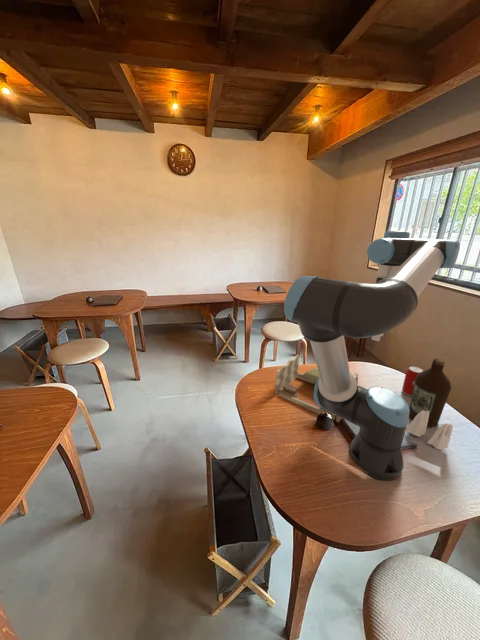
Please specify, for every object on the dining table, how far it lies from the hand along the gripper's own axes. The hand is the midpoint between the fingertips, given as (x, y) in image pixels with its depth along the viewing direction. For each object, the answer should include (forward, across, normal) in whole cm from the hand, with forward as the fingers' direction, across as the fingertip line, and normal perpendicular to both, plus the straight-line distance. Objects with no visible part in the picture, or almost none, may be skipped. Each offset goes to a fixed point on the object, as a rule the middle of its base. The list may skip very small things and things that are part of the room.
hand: (377, 337), depth 101 cm
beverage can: (+29, +18, -14) cm, 37 cm away
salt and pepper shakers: (+29, -10, -22) cm, 38 cm away
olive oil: (+29, +2, -20) cm, 35 cm away
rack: (+29, -9, +18) cm, 35 cm away
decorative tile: (+24, -8, +16) cm, 30 cm away
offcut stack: (+29, -16, +27) cm, 43 cm away
